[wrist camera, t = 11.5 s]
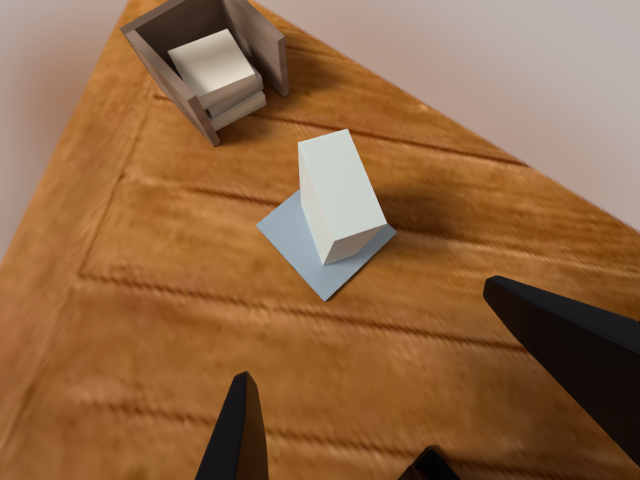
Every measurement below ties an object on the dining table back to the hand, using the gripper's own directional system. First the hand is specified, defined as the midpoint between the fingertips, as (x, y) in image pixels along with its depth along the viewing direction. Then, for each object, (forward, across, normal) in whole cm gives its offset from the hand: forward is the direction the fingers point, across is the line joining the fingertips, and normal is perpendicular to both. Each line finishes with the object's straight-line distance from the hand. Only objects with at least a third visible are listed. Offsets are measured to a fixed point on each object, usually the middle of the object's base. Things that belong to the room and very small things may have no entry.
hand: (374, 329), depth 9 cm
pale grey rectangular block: (+14, -2, +4) cm, 15 cm away
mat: (+15, -2, +5) cm, 15 cm away
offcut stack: (+26, +3, -7) cm, 27 cm away
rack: (+27, +3, -7) cm, 28 cm away
